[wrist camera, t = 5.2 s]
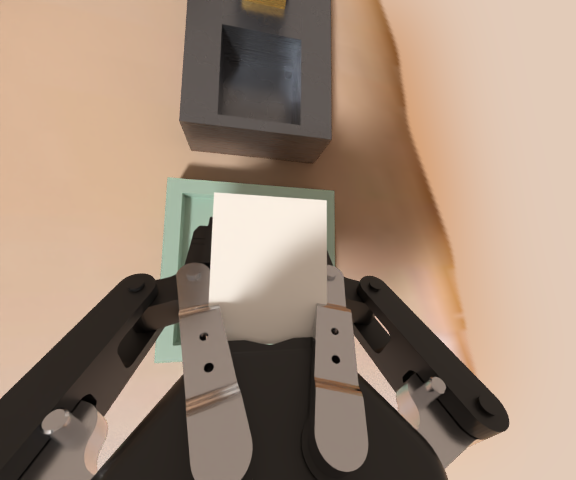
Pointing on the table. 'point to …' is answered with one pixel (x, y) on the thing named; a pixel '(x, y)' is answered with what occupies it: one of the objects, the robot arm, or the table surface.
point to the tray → (196, 212)
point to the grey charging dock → (257, 78)
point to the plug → (268, 265)
